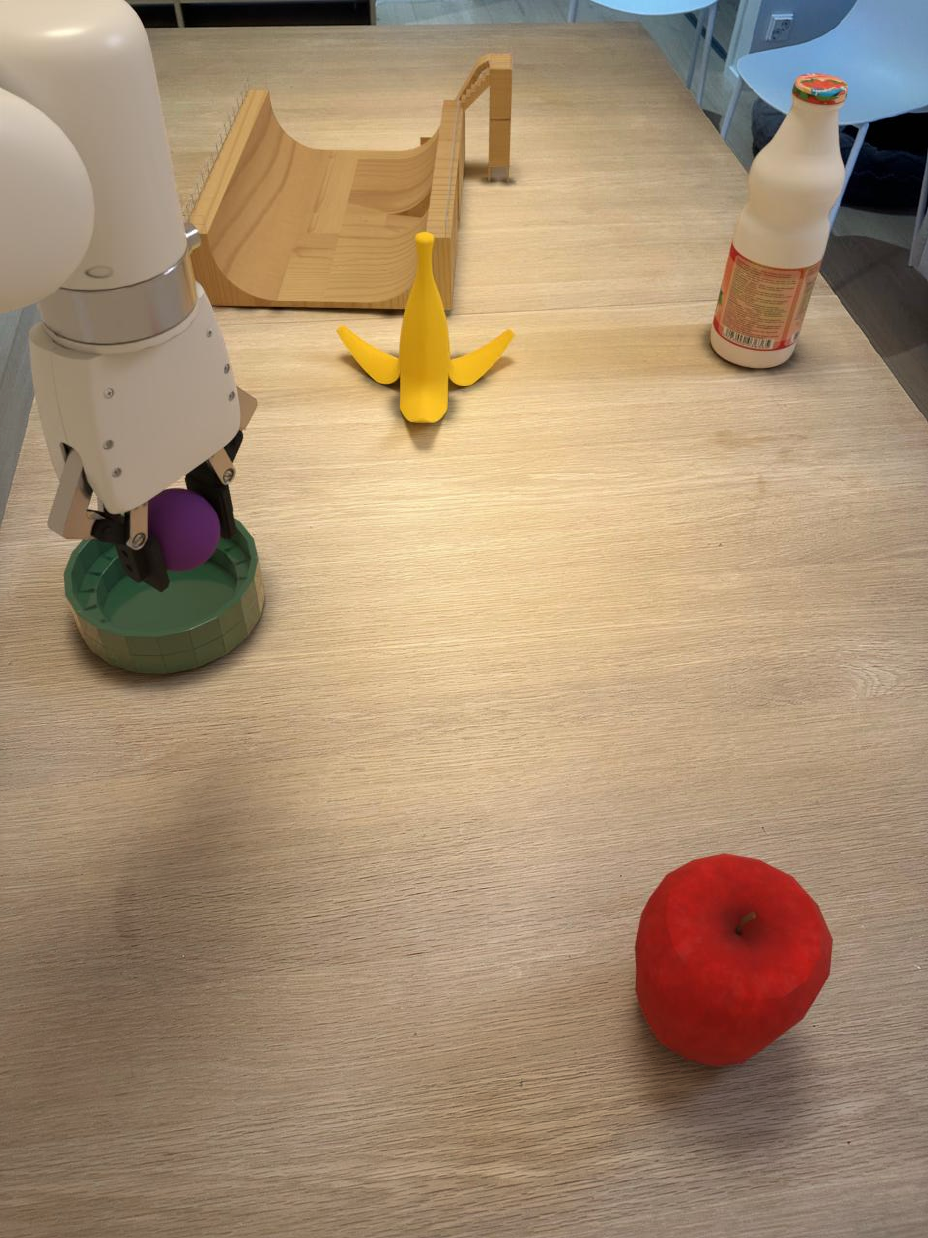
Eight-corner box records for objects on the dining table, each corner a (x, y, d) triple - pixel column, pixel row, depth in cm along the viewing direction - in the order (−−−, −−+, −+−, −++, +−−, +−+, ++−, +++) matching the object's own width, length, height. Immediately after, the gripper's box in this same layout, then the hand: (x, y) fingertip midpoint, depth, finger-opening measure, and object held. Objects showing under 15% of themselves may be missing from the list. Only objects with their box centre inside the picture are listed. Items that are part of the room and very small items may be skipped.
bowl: (123, 707, 79) (108, 666, 75) (52, 588, 87) (36, 546, 83) (297, 625, 85) (291, 584, 81) (215, 522, 93) (207, 479, 89)
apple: (751, 921, 69) (807, 815, 58) (808, 1079, 62) (883, 990, 52) (598, 942, 67) (629, 837, 57) (640, 1106, 60) (683, 1020, 50)
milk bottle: (732, 376, 111) (803, 107, 90) (694, 330, 116) (751, 67, 96) (809, 363, 113) (895, 97, 92) (767, 318, 119) (839, 58, 98)
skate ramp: (259, 159, 145) (240, 35, 133) (509, 163, 144) (513, 38, 132) (198, 312, 118) (168, 173, 106) (506, 317, 117) (510, 178, 105)
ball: (163, 600, 61) (145, 539, 57) (131, 550, 64) (112, 489, 60) (239, 568, 63) (227, 507, 59) (205, 521, 66) (191, 460, 62)
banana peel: (339, 350, 112) (328, 201, 99) (512, 354, 112) (523, 207, 100) (325, 445, 101) (311, 292, 88) (517, 449, 101) (530, 297, 89)
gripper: (189, 197, 55) (236, 459, 69) (-87, 336, 46) (30, 607, 60) (292, 240, 53) (320, 505, 66) (20, 397, 43) (118, 667, 57)
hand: (182, 551), depth 63 cm, fingers closed on ball, 4 cm apart
